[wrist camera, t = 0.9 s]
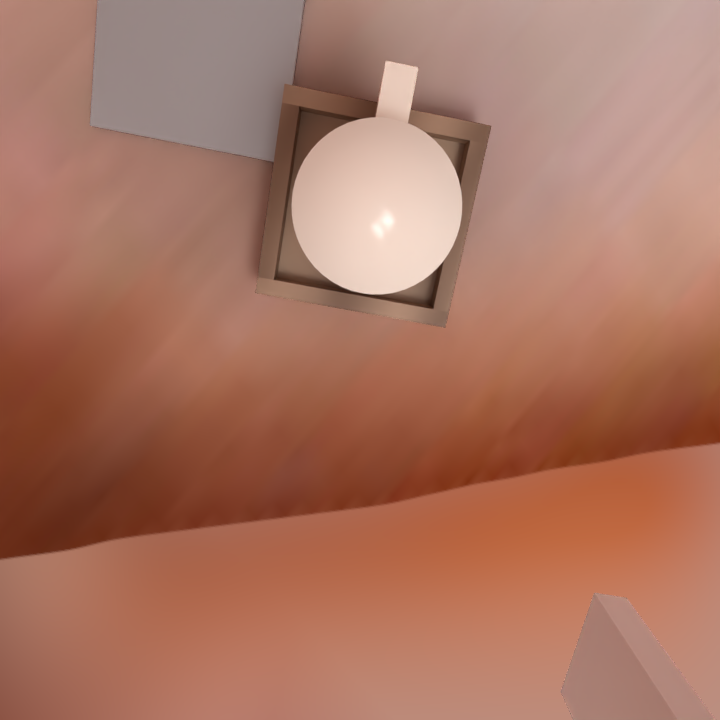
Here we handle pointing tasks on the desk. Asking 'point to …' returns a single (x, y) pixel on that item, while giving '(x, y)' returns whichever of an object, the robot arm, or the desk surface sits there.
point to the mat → (196, 70)
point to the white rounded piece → (378, 197)
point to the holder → (280, 244)
